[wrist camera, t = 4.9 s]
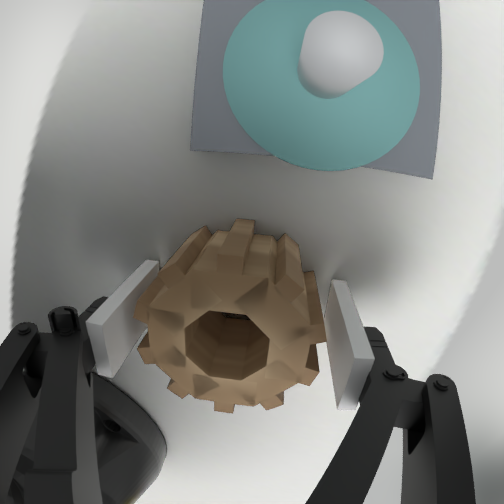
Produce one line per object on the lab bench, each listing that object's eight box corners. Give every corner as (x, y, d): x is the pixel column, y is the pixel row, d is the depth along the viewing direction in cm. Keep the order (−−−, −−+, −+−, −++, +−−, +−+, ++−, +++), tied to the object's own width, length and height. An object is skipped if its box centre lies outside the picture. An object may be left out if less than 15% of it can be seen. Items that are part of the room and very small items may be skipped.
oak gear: (302, 357, 18) (306, 419, 14) (172, 342, 19) (145, 397, 14) (325, 227, 16) (343, 266, 11) (168, 212, 16) (126, 244, 11)
